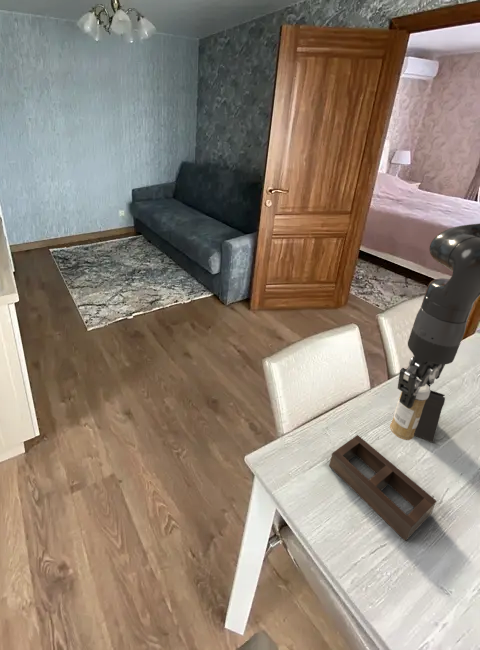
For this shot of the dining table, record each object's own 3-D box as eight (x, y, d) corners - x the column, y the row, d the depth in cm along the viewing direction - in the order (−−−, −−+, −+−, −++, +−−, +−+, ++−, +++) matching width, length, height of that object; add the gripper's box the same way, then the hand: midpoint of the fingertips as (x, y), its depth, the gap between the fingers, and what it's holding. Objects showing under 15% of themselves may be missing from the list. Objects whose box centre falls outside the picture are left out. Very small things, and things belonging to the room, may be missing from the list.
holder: (353, 447, 87) (357, 434, 85) (430, 514, 73) (436, 500, 71) (328, 465, 83) (332, 452, 81) (405, 541, 68) (411, 527, 67)
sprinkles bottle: (418, 440, 73) (436, 392, 68) (397, 441, 73) (414, 393, 68) (404, 422, 78) (420, 376, 73) (384, 423, 78) (399, 376, 72)
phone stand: (405, 409, 98) (416, 376, 94) (430, 418, 95) (443, 385, 91) (405, 432, 91) (417, 398, 87) (432, 443, 88) (446, 408, 84)
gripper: (438, 356, 59) (412, 428, 66) (477, 332, 66) (450, 399, 72) (394, 333, 65) (374, 400, 72) (434, 312, 72) (412, 376, 78)
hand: (412, 399), depth 72 cm, fingers closed on sprinkles bottle, 4 cm apart
